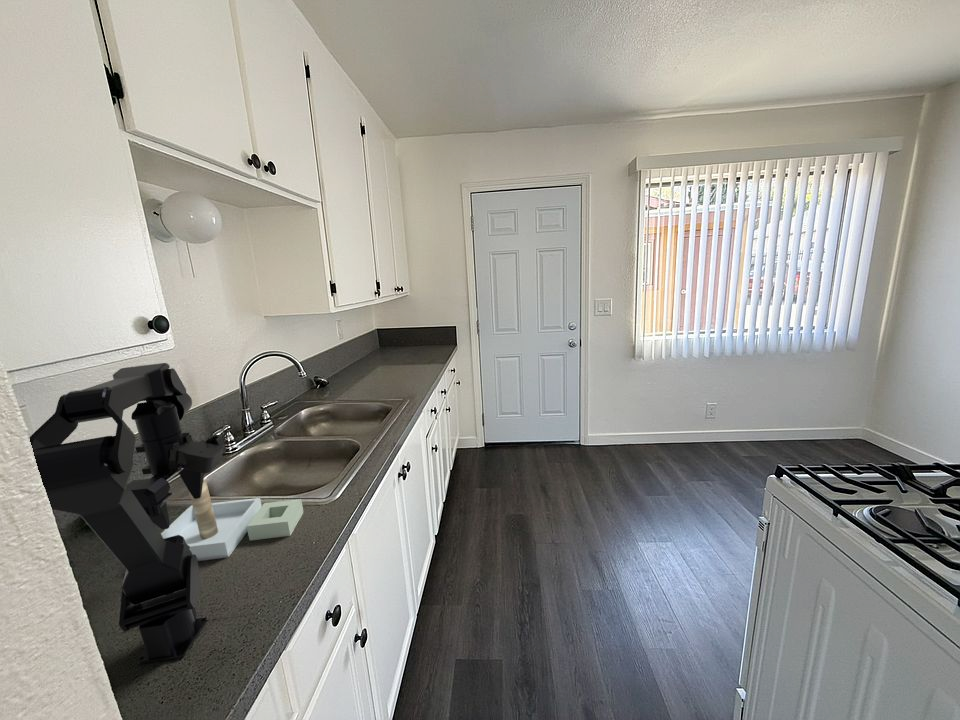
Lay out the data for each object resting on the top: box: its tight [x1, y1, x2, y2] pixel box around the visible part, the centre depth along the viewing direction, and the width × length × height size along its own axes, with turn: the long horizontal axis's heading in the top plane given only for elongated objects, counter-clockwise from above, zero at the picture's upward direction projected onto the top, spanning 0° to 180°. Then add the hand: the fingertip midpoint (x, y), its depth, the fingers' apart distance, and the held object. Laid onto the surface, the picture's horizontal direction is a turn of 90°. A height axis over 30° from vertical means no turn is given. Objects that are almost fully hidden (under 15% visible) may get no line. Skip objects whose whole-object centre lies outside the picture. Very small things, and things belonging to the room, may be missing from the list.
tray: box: [160, 497, 263, 562], centre depth 83 cm, size 16×16×4 cm
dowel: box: [188, 480, 218, 539], centre depth 82 cm, size 3×3×12 cm
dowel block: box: [247, 498, 304, 541], centre depth 86 cm, size 8×8×4 cm
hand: (182, 512), depth 71 cm, fingers open, 9 cm apart
